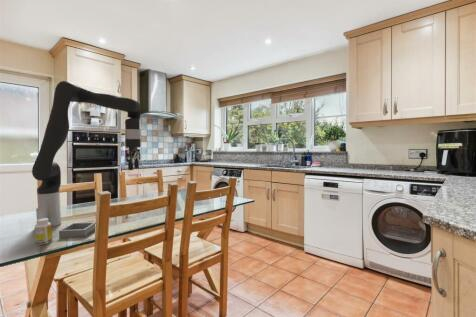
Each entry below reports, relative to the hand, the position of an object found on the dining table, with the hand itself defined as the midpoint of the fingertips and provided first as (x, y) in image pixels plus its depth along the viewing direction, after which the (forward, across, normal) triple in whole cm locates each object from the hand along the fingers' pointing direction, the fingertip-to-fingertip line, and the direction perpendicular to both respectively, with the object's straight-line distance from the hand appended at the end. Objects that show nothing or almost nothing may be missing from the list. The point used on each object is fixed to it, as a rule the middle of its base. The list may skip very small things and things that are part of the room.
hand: (133, 169), depth 133 cm
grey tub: (+29, +15, -21) cm, 39 cm away
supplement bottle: (+29, +25, -30) cm, 49 cm away
